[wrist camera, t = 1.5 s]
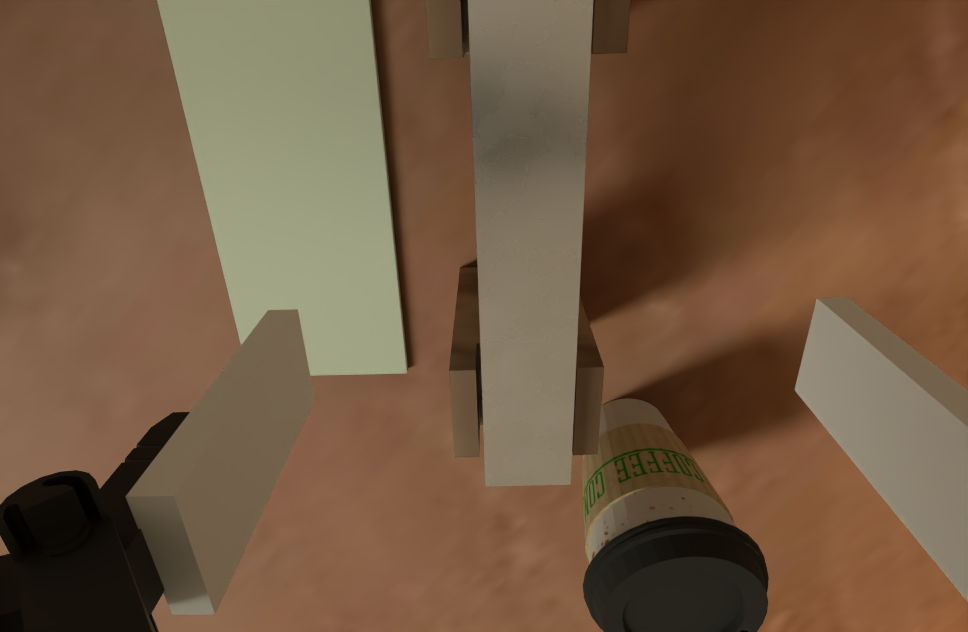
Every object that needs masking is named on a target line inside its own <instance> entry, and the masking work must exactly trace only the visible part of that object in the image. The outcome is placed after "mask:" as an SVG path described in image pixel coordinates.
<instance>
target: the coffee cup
mask: <svg viewBox="0 0 968 632" xmlns="http://www.w3.org/2000/svg"><path fill="white" fill-rule="evenodd" d="M582 486H583V508H584V531H585V548H586V555H587V558H588V560H589V566H588V568H587V571H586V573H585V577H584V582H583V592H584V599H585V601H586V604H587V606H588V609H589V611H590V614H591V616H592V618H593V619H594V621H595V622H596V623H597V624H598V626H599V627H600V628H601V629H602V630H603V631H604V632H757V631H758V629H759V628H760V626H761V625H762V624H763V621H764V619H765V616H766V614H767V607H768V599H767V589H768V572H767V567H766V563H765V559H764V556H763V554H762V552H761V550H760V548H759V546H758V545H757V543H756V542H755V541H754V540H753V539H752V538H751V537H750V536H749V535H748V534H746V533H745V532H743V531H742V530H740V529H738V528H737V527H736V525H735V524H734V521H733V518H732V516H731V514H730V512H729V510H728V508H727V507H726V506H725V504H724V503H723V501H722V500H721V498H720V497H719V495H718V494H717V492H716V491H715V489H714V488H713V486H712V485H711V483H710V482H709V480H708V479H707V478H706V476H705V475H704V473H703V472H702V470H701V469H700V467H699V466H698V464H697V463H696V461H695V460H694V458H693V457H692V455H691V454H690V452H689V451H688V450H687V448H686V447H685V445H684V444H683V442H682V441H681V440H680V439H679V438H678V437H677V436H676V435H675V434H674V432H673V431H672V429H671V428H670V426H669V425H668V423H667V422H666V420H665V419H664V417H663V416H662V414H661V413H660V412H659V410H658V409H657V408H656V407H654V406H653V405H651V404H650V403H647V402H645V401H643V400H638V399H629V398H625V399H617V400H614V401H610V402H608V403H606V404H604V405H602V406H601V415H600V429H599V443H598V455H583V463H582Z"/></svg>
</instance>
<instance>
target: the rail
mask: <svg viewBox="0 0 968 632" xmlns="http://www.w3.org/2000/svg"><path fill="white" fill-rule="evenodd" d="M468 17H469V45H470V72H471V100H472V127H473V155H474V182H475V210H476V237H477V265H478V292H479V320H480V347H481V375H482V403H483V430H484V458H485V485H486V486H524V485H570V483H571V462H572V441H573V420H574V399H575V378H576V357H577V335H578V314H579V293H580V272H581V251H582V230H583V209H584V188H585V166H586V145H587V124H588V103H589V82H590V61H591V40H592V19H593V0H468Z"/></svg>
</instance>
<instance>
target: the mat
mask: <svg viewBox="0 0 968 632" xmlns="http://www.w3.org/2000/svg"><path fill="white" fill-rule="evenodd" d="M157 2H158V6H159V10H160V14H161V18H162V22H163V26H164V31H165V35H166V39H167V43H168V47H169V51H170V55H171V59H172V63H173V68H174V72H175V76H176V80H177V84H178V88H179V92H180V96H181V100H182V104H183V109H184V113H185V117H186V121H187V125H188V129H189V133H190V137H191V141H192V146H193V150H194V154H195V158H196V162H197V166H198V170H199V174H200V178H201V183H202V187H203V191H204V195H205V199H206V203H207V207H208V211H209V215H210V219H211V224H212V228H213V232H214V236H215V240H216V244H217V248H218V252H219V256H220V261H221V265H222V269H223V273H224V277H225V281H226V285H227V289H228V293H229V298H230V302H231V306H232V310H233V314H234V318H235V322H236V326H237V330H238V334H239V339H240V343H241V345H242V344H243V342H244V341H245V340H246V338H247V337H248V336H249V334H250V333H251V332H252V330H253V329H254V328H255V327H256V325H257V324H258V323H259V321H260V320H261V319H262V317H263V316H264V315H265V313H266V312H267V311H268V310H293V309H298V313H299V318H300V324H301V329H302V334H303V340H304V345H305V350H306V356H307V361H308V366H309V371H310V375H352V374H396V373H407V371H408V363H407V353H406V344H405V334H404V324H403V314H402V304H401V294H400V284H399V274H398V264H397V254H396V245H395V235H394V225H393V215H392V205H391V195H390V185H389V175H388V165H387V156H386V146H385V136H384V126H383V116H382V106H381V96H380V86H379V76H378V66H377V57H376V47H375V37H374V27H373V17H372V7H371V0H157Z"/></svg>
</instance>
